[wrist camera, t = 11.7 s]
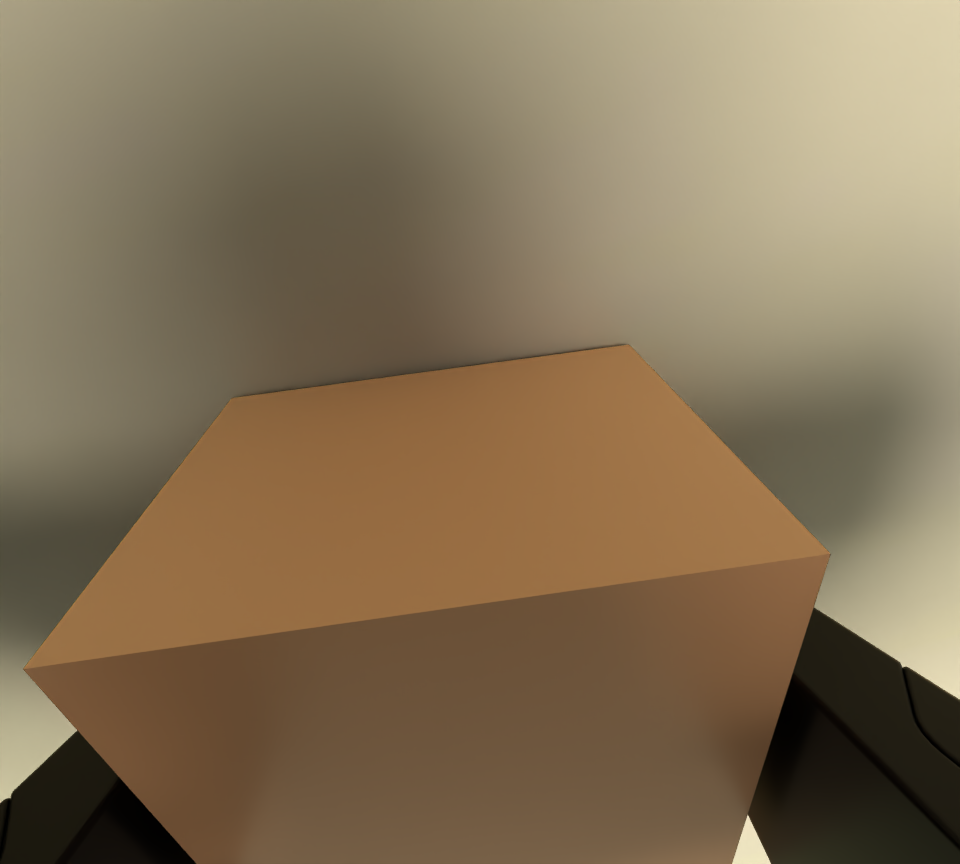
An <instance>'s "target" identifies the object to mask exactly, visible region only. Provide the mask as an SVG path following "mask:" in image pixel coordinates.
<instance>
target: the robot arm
mask: <svg viewBox="0 0 960 864" xmlns="http://www.w3.org/2000/svg"><path fill="white" fill-rule="evenodd" d="M748 816H749V818H750V820H751V822H752V824H753V826H754V828H755V830H756V833H757V835H758V837H759V839H760V841H761V843H762V845H763V847H764V849H765V852H766V854H767V856H768V858H769V860H770V862H771V864H960V699H958V698H956V697H955V696H953V695H951V694H950V693H948V692H947V691H945V690H943V689H942V688H940V687H939V686H937V685H935V684H934V683H932V682H931V681H929V680H928V679H926V678H924V677H923V676H921V675H920V674H918V673H917V672H915V671H913V670H912V669H910V668H909V667H903V668H902V666H901V663H900V662H899V661H897V660H896V659H894V658H893V657H891V656H889V655H888V654H886V653H885V652H883V651H882V650H880V649H878V648H877V647H875V646H874V645H872V644H871V643H869V642H867V641H866V640H864V639H863V638H861V637H860V636H858V635H857V634H855V633H853V632H852V631H850V630H849V629H847V628H846V627H844V626H842V625H841V624H839V623H838V622H836V621H835V620H833V619H831V618H830V617H828V616H827V615H825V614H824V613H822V612H820V611H819V610H817V609H816V608H813V611H812V614H811V617H810V620H809V623H808V626H807V629H806V633H805V636H804V639H803V642H802V645H801V648H800V651H799V655H798V658H797V661H796V664H795V667H794V670H793V673H792V677H791V680H790V683H789V686H788V689H787V692H786V695H785V699H784V702H783V705H782V708H781V711H780V714H779V717H778V721H777V724H776V727H775V730H774V733H773V736H772V739H771V742H770V746H769V749H768V752H767V755H766V758H765V761H764V764H763V768H762V771H761V774H760V777H759V780H758V783H757V786H756V790H755V793H754V796H753V799H752V802H751V805H750V808H749V812H748ZM0 864H196V863H195V862H194V860H193V859H192V858H191V857H190V856H189V855H188V854H187V853H186V851H185V850H184V849H183V848H182V847H181V846H180V845H179V844H178V842H177V841H176V840H175V839H174V838H173V837H172V836H171V835H170V833H169V832H168V831H167V830H166V829H165V828H164V827H163V826H162V824H161V823H160V822H159V821H158V820H157V819H156V818H155V817H154V816H153V814H152V813H151V812H150V811H149V810H148V809H147V808H146V807H145V805H144V804H143V803H142V802H141V801H140V800H139V799H138V798H137V796H136V795H135V794H134V793H133V792H132V791H131V790H130V789H129V787H128V786H127V785H126V784H125V783H124V782H123V781H122V780H121V778H120V777H119V776H118V775H117V774H116V773H115V772H114V771H113V770H112V768H111V767H110V766H109V765H108V764H107V763H106V762H105V761H104V759H103V758H102V757H101V756H100V755H99V754H98V753H97V752H96V750H95V749H94V748H93V747H92V746H91V745H90V744H89V743H88V741H87V740H86V739H85V738H84V737H83V736H82V735H81V734H80V732H79V731H78V730H77V731H76V732H75V733H74V734H73V735H72V736H71V737H70V738H69V739H68V740H67V741H66V742H65V743H64V744H63V745H61V746H60V747H59V748H58V749H57V750H56V751H55V752H54V753H53V754H52V755H51V756H50V757H49V758H48V759H47V760H46V761H45V762H44V763H42V764H41V765H40V766H39V767H38V768H37V769H36V770H35V771H34V772H33V773H32V774H31V775H30V776H29V777H28V778H27V779H26V780H25V781H23V782H22V783H21V784H20V785H19V786H18V787H17V788H16V789H15V790H14V791H13V792H12V794H11V798H7V799H5V800H3V801H2V802H1V803H0Z"/></svg>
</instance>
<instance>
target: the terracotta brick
mask: <svg viewBox="0 0 960 864" xmlns="http://www.w3.org/2000/svg"><path fill="white" fill-rule="evenodd" d="M829 557H830V553H829V552H828V551H827V550H826V548H825V547H824V546H823V545H822V544H821V543H820V542H819V541H818V540H817V539H816V538H815V537H814V536H813V535H812V534H811V533H810V532H809V531H808V530H807V529H806V528H805V527H804V526H803V525H802V524H801V523H800V522H799V520H798V519H797V518H796V517H795V516H794V515H793V514H792V513H791V512H790V511H789V510H788V509H787V508H786V507H785V506H784V505H783V504H782V503H781V502H780V501H779V500H778V499H777V498H776V497H775V496H774V495H773V493H772V492H771V491H770V490H769V489H768V488H767V487H766V486H765V485H764V484H763V483H762V482H761V481H760V480H759V479H758V478H757V477H756V476H755V475H754V474H753V473H752V472H751V471H750V470H749V469H748V468H747V467H746V465H745V464H744V463H743V462H742V461H741V460H740V459H739V458H738V457H737V456H736V455H735V454H734V453H733V452H732V451H731V450H730V449H729V448H728V447H727V446H726V445H725V444H724V443H723V442H722V441H721V440H720V438H719V437H718V436H717V435H716V434H715V433H714V432H713V431H712V430H711V429H710V428H709V427H708V426H707V425H706V424H705V423H704V422H703V421H702V420H701V419H700V418H699V417H698V416H697V415H696V414H695V413H694V411H693V410H692V409H691V408H690V407H689V406H688V405H687V404H686V403H685V402H684V401H683V400H682V399H681V398H680V397H679V396H678V395H677V394H676V393H675V392H674V391H673V390H672V389H671V388H670V387H669V386H668V385H667V383H666V382H665V381H664V380H663V379H662V378H661V377H660V376H659V375H658V374H657V373H656V372H655V371H654V370H653V369H652V368H651V367H650V366H649V365H648V364H647V363H646V362H645V361H644V360H643V359H642V358H641V356H640V355H639V354H638V353H637V352H636V351H635V350H634V349H633V348H632V347H631V346H630V345H622V346H615V347H607V348H600V349H592V350H585V351H578V352H570V353H563V354H555V355H548V356H540V357H533V358H526V359H518V360H511V361H503V362H496V363H489V364H481V365H474V366H466V367H459V368H451V369H444V370H437V371H429V372H422V373H414V374H407V375H399V376H392V377H385V378H377V379H370V380H362V381H355V382H347V383H340V384H333V385H325V386H318V387H310V388H303V389H295V390H288V391H281V392H273V393H266V394H258V395H251V396H243V397H236V398H231V400H230V401H229V402H228V404H227V405H226V406H225V407H224V409H223V410H222V411H221V413H220V414H219V415H218V416H217V418H216V419H215V420H214V422H213V423H212V424H211V426H210V427H209V428H208V429H207V431H206V432H205V433H204V435H203V436H202V437H201V439H200V440H199V441H198V442H197V444H196V445H195V446H194V448H193V449H192V450H191V452H190V453H189V454H188V455H187V457H186V458H185V459H184V461H183V462H182V463H181V465H180V466H179V467H178V468H177V470H176V471H175V472H174V474H173V475H172V476H171V478H170V479H169V480H168V481H167V483H166V484H165V485H164V487H163V488H162V489H161V491H160V492H159V493H158V494H157V496H156V497H155V498H154V500H153V501H152V502H151V503H150V505H149V506H148V507H147V509H146V510H145V511H144V513H143V514H142V515H141V516H140V518H139V519H138V520H137V522H136V523H135V524H134V526H133V527H132V528H131V529H130V531H129V532H128V533H127V535H126V536H125V537H124V539H123V540H122V541H121V542H120V544H119V545H118V546H117V548H116V549H115V550H114V552H113V553H112V554H111V555H110V557H109V558H108V559H107V561H106V562H105V563H104V565H103V566H102V567H101V568H100V570H99V571H98V572H97V574H96V575H95V576H94V578H93V579H92V580H91V581H90V583H89V584H88V585H87V587H86V588H85V589H84V591H83V592H82V593H81V594H80V596H79V597H78V598H77V600H76V601H75V602H74V603H73V605H72V606H71V607H70V609H69V610H68V611H67V613H66V614H65V615H64V616H63V618H62V619H61V620H60V622H59V623H58V624H57V626H56V627H55V628H54V629H53V631H52V632H51V633H50V635H49V636H48V637H47V639H46V640H45V641H44V642H43V644H42V645H41V646H40V648H39V649H38V650H37V652H36V653H35V654H34V655H33V657H32V658H31V659H30V661H29V662H28V663H27V665H26V666H25V667H24V668H23V670H24V671H25V672H26V673H27V674H28V675H29V676H30V678H31V679H32V680H33V681H34V682H35V683H36V684H37V685H38V686H39V688H40V689H41V690H42V691H43V692H44V693H45V694H46V695H47V697H48V698H49V699H50V700H51V701H52V702H53V703H54V704H55V706H56V707H57V708H58V709H59V710H60V711H61V712H62V713H63V715H64V716H65V717H66V718H67V719H68V720H69V721H70V722H71V724H72V725H73V726H74V727H75V728H76V729H77V730H78V731H79V732H80V734H81V735H82V736H83V737H84V738H85V739H86V740H87V741H88V743H89V744H90V745H91V746H92V747H93V748H94V749H95V750H96V752H97V753H98V754H99V755H100V756H101V757H102V758H103V759H104V761H105V762H106V763H107V764H108V765H109V766H110V767H111V768H112V770H113V771H114V772H115V773H116V774H117V775H118V776H119V777H120V778H121V780H122V781H123V782H124V783H125V784H126V785H127V786H128V787H129V789H130V790H131V791H132V792H133V793H134V794H135V795H136V796H137V798H138V799H139V800H140V801H141V802H142V803H143V804H144V805H145V807H146V808H147V809H148V810H149V811H150V812H151V813H152V814H153V816H154V817H155V818H156V819H157V820H158V821H159V822H160V823H161V824H162V826H163V827H164V828H165V829H166V830H167V831H168V832H169V833H170V835H171V836H172V837H173V838H174V839H175V840H176V841H177V842H178V844H179V845H180V846H181V847H182V848H183V849H184V850H185V851H186V853H187V854H188V855H189V856H190V857H191V858H192V859H193V860H194V862H195V863H196V864H732V862H733V859H734V855H735V852H736V849H737V846H738V843H739V840H740V837H741V834H742V830H743V827H744V824H745V821H746V818H747V815H748V812H749V808H750V805H751V802H752V799H753V796H754V793H755V790H756V786H757V783H758V780H759V777H760V774H761V771H762V768H763V764H764V761H765V758H766V755H767V752H768V749H769V746H770V742H771V739H772V736H773V733H774V730H775V727H776V724H777V721H778V717H779V714H780V711H781V708H782V705H783V702H784V699H785V695H786V692H787V689H788V686H789V683H790V680H791V677H792V673H793V670H794V667H795V664H796V661H797V658H798V655H799V651H800V648H801V645H802V642H803V639H804V636H805V633H806V629H807V626H808V623H809V620H810V617H811V614H812V611H813V608H814V604H815V601H816V598H817V595H818V592H819V589H820V586H821V582H822V579H823V576H824V573H825V570H826V567H827V564H828V560H829Z"/></svg>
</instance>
